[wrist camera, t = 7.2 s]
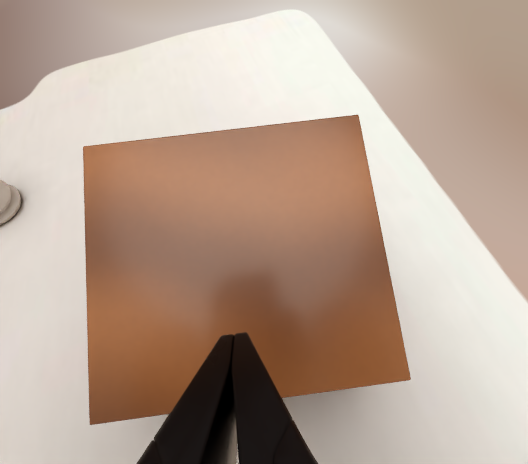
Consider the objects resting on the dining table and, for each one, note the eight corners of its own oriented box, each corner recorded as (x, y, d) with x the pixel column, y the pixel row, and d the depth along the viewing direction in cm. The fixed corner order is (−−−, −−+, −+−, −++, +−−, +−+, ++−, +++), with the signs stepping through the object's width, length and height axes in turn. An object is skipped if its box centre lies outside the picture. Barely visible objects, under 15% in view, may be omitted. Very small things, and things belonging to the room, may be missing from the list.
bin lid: (93, 153, 14) (82, 146, 13) (353, 123, 14) (358, 114, 13) (100, 415, 12) (88, 425, 11) (401, 373, 12) (411, 380, 11)
